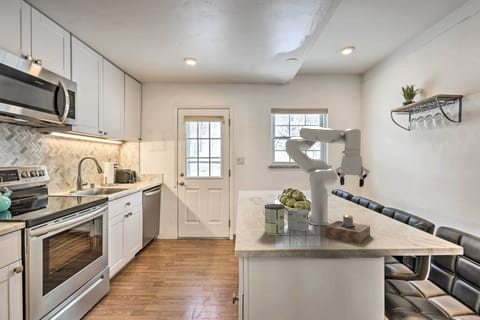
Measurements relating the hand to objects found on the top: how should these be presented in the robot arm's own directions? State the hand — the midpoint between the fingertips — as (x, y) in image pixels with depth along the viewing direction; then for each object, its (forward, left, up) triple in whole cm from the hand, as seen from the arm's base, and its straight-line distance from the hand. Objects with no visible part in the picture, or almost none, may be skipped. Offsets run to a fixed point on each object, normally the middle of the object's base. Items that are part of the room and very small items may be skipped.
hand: (351, 185), depth 138 cm
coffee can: (-30, -27, -24) cm, 47 cm away
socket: (+1, -9, -24) cm, 26 cm away
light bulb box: (-24, -13, -24) cm, 36 cm away
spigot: (+1, -9, -23) cm, 25 cm away
